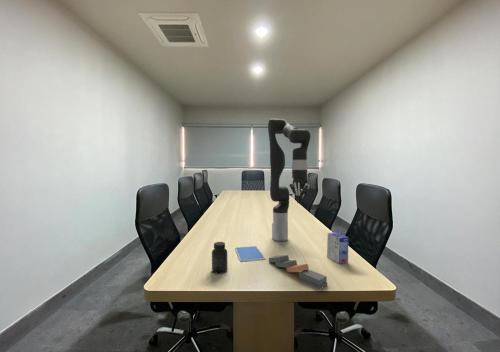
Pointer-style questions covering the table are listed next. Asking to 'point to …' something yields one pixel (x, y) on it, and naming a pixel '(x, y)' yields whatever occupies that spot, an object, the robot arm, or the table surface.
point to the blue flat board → (249, 253)
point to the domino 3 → (297, 268)
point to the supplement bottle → (219, 258)
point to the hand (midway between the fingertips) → (299, 202)
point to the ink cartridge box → (337, 247)
